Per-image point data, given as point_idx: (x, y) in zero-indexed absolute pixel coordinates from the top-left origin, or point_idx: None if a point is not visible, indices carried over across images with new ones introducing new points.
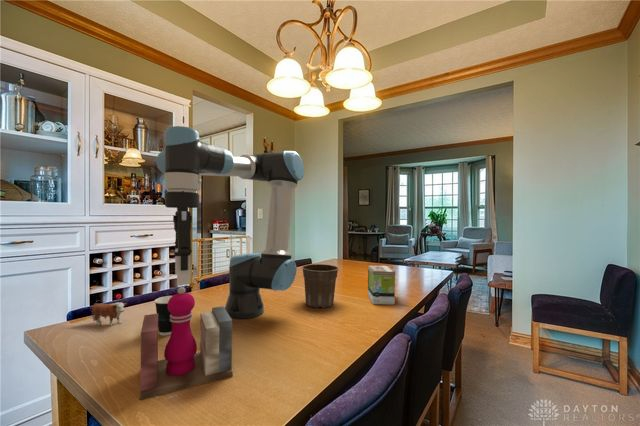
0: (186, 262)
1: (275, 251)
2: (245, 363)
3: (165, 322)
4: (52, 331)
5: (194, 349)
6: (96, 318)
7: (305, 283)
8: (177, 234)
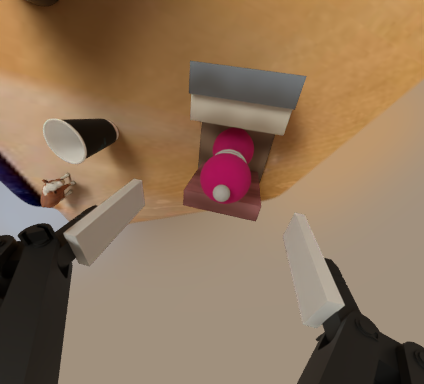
0: (345, 291)
1: None
2: (269, 46)
3: (107, 140)
4: None
5: (248, 136)
6: (64, 197)
7: None
8: (57, 364)
